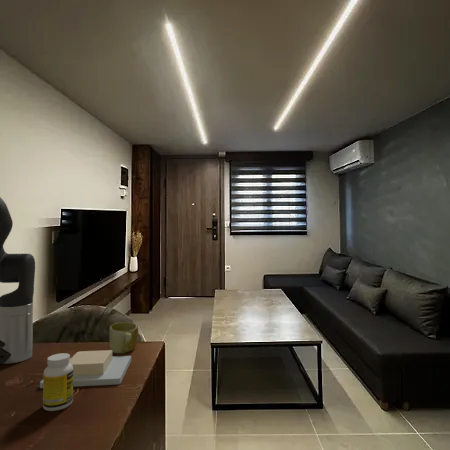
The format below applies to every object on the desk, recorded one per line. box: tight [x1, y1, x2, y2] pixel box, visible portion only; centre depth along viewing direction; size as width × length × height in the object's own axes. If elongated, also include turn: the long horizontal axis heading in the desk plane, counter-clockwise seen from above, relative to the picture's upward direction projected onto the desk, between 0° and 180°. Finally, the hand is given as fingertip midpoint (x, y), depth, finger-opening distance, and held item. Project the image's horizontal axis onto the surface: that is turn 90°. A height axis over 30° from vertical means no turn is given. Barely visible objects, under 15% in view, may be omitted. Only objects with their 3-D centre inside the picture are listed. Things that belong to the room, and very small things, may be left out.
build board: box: [39, 349, 132, 389], centre depth 92 cm, size 20×16×4 cm
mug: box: [108, 321, 139, 354], centre depth 110 cm, size 12×10×10 cm
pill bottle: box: [42, 352, 74, 412], centre depth 75 cm, size 6×6×11 cm
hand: (4, 353), depth 68 cm, fingers open, 8 cm apart
